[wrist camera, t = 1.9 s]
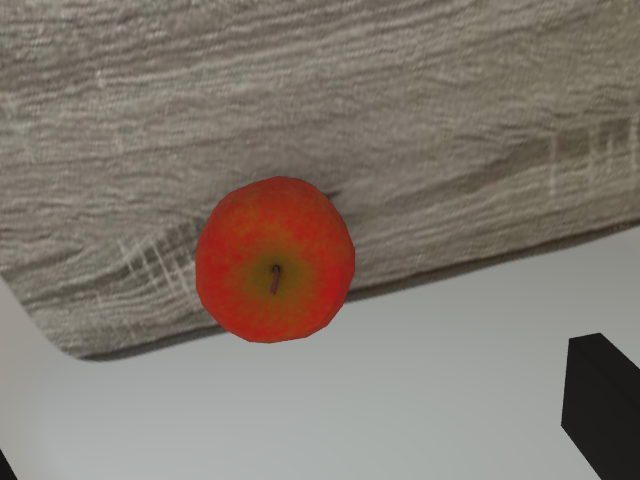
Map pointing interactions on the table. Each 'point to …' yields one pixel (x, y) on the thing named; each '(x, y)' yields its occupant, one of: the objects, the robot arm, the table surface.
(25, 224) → the table surface
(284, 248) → the apple
